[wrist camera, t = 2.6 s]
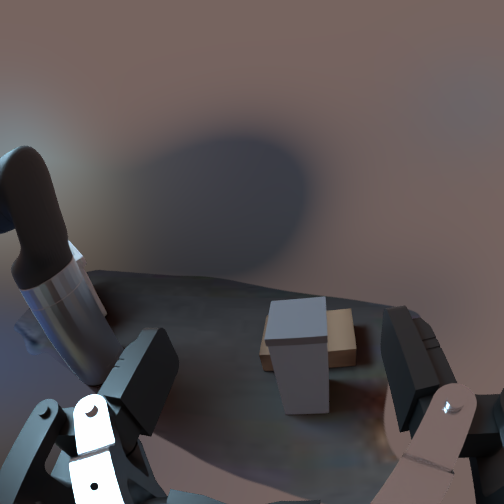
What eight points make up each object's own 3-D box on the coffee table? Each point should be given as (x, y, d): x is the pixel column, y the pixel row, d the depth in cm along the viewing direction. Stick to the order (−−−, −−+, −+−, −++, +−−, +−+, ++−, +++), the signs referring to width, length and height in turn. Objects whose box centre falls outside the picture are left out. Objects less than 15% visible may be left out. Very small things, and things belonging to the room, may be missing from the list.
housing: (284, 415, 27) (264, 339, 22) (288, 380, 31) (271, 301, 26) (330, 413, 26) (327, 335, 21) (329, 378, 30) (325, 296, 25)
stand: (263, 370, 33) (259, 355, 32) (270, 331, 39) (266, 315, 38) (355, 365, 31) (356, 348, 29) (350, 325, 37) (350, 308, 35)
